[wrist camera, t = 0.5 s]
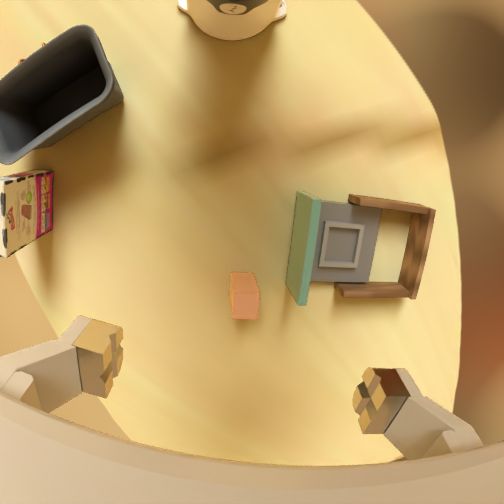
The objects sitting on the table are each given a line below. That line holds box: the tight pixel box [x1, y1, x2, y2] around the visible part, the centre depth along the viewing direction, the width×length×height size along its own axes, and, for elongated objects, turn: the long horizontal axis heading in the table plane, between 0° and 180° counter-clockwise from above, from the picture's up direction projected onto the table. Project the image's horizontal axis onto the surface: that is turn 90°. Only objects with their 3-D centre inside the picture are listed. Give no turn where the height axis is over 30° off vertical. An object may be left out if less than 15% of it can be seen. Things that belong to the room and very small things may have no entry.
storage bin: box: [0, 25, 123, 165], centre depth 39 cm, size 21×16×14 cm
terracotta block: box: [229, 272, 260, 319], centre depth 55 cm, size 4×4×9 cm
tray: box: [286, 191, 382, 306], centre depth 54 cm, size 17×16×9 cm
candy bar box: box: [0, 170, 54, 258], centre depth 42 cm, size 11×5×16 cm, turn 172°
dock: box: [334, 194, 436, 299], centre depth 57 cm, size 18×16×6 cm
